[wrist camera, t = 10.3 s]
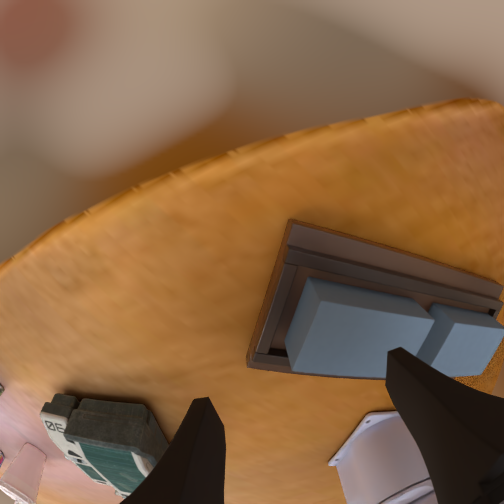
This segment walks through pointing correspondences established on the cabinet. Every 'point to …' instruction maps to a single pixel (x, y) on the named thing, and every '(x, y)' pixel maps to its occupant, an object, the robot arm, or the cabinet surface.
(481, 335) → the blue-grey rectangular block
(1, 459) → the ink cartridge box
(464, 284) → the dark brown wooden tray
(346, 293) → the loose pad
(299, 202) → the cabinet surface
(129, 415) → the communication device
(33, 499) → the smoothie
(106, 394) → the cabinet surface
